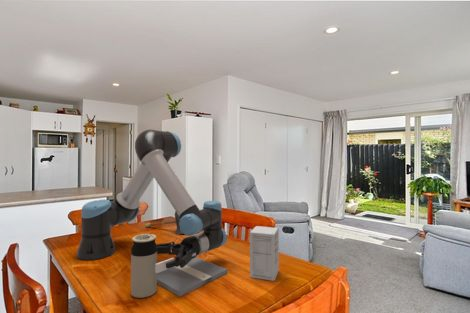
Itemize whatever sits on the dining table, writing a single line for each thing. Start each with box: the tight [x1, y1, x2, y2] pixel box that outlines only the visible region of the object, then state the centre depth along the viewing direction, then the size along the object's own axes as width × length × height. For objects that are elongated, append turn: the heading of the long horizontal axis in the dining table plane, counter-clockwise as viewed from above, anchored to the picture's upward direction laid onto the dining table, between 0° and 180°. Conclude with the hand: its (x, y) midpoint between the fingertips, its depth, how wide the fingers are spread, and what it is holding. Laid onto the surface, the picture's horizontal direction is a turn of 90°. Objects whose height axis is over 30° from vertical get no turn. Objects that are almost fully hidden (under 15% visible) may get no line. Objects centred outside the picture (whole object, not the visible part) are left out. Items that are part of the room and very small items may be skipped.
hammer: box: [144, 211, 183, 235], centre depth 155 cm, size 6×16×30 cm
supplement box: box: [249, 225, 280, 282], centre depth 99 cm, size 10×9×17 cm
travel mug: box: [130, 233, 158, 299], centre depth 85 cm, size 8×8×18 cm
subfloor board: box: [157, 256, 228, 297], centre depth 98 cm, size 20×22×2 cm
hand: (144, 262), depth 85 cm, fingers open, 13 cm apart
